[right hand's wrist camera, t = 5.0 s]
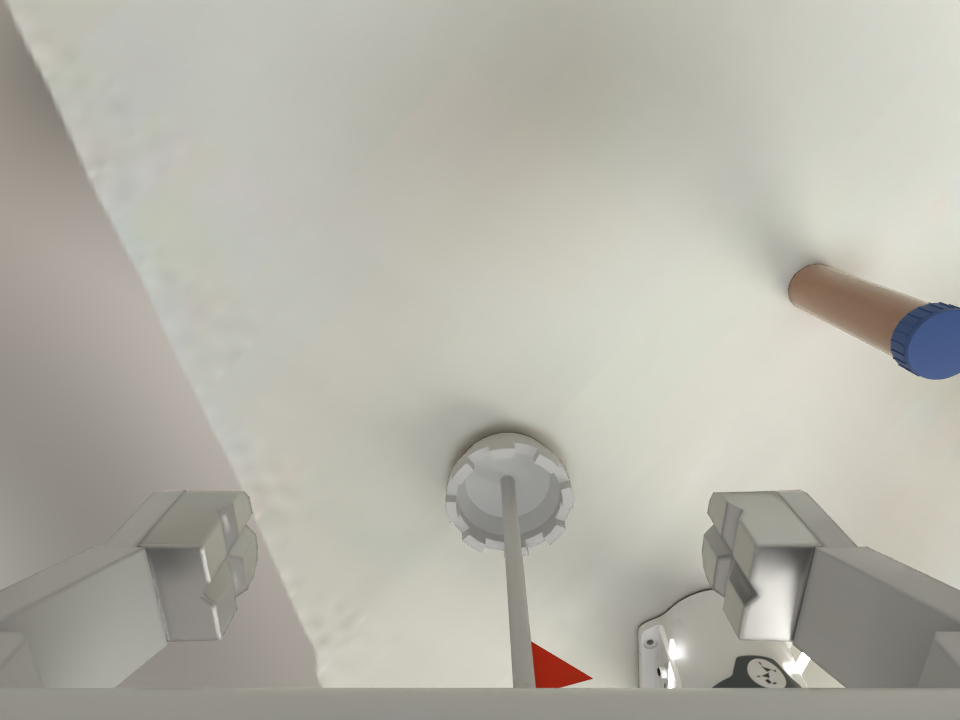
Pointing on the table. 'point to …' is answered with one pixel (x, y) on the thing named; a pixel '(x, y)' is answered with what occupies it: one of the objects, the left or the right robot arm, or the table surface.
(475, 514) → the flag stand
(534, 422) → the table surface
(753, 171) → the table surface
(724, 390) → the table surface
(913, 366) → the lid
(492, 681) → the table surface
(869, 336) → the jar
